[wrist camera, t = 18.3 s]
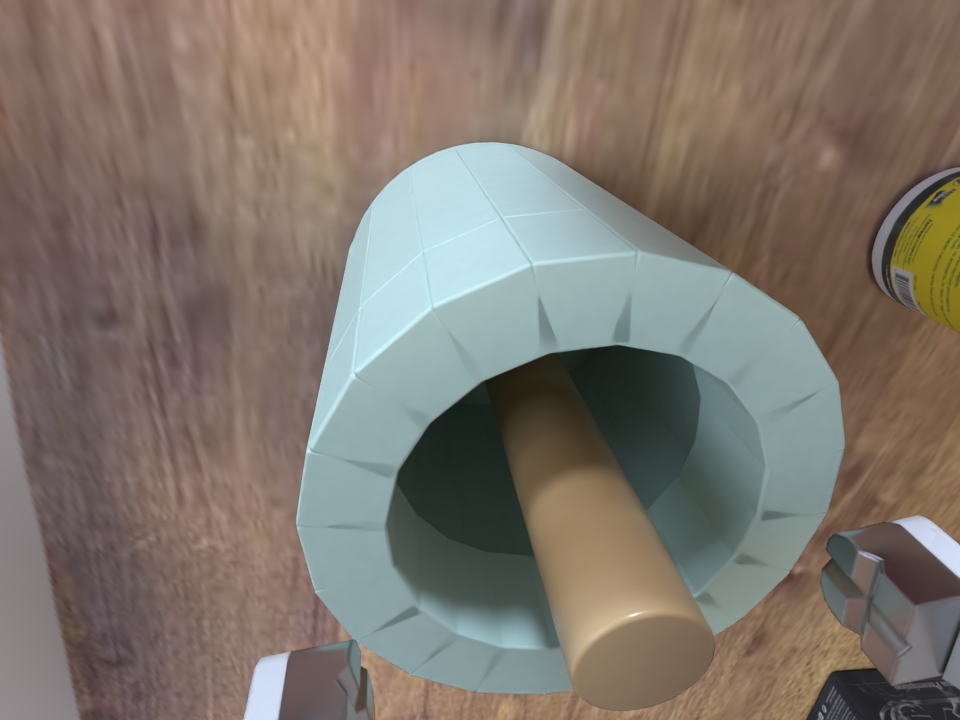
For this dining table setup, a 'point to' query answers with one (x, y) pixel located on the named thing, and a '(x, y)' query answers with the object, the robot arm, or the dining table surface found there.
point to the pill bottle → (923, 249)
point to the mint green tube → (598, 377)
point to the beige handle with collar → (596, 548)
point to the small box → (885, 698)
